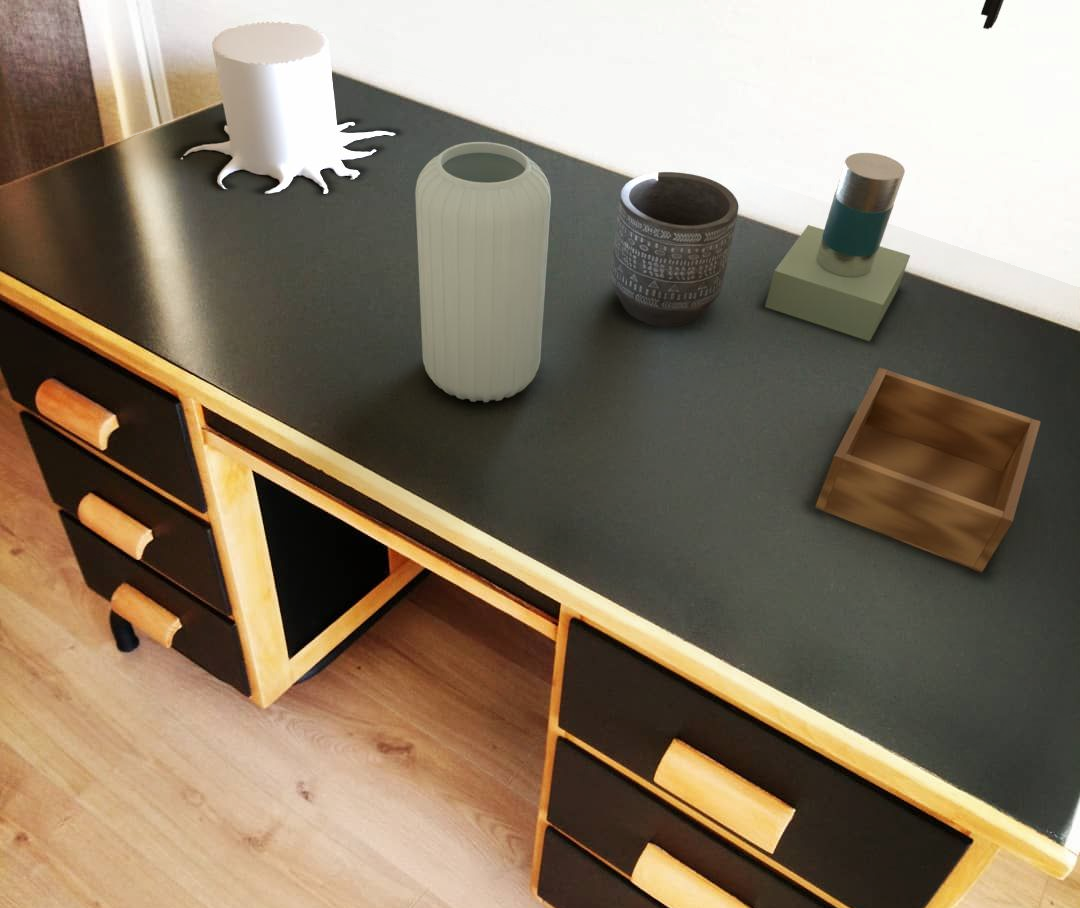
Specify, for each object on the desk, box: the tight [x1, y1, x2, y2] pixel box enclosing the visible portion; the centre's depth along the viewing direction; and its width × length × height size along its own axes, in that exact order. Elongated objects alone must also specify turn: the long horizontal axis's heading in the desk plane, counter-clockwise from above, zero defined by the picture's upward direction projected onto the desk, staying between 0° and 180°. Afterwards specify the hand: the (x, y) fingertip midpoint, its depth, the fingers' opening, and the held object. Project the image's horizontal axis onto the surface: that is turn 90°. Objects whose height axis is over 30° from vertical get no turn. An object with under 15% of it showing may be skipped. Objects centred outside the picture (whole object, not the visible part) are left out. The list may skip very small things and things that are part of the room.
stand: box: [764, 224, 911, 342], centre depth 105 cm, size 12×12×5 cm
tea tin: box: [817, 152, 906, 277], centre depth 99 cm, size 6×6×11 cm
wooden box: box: [814, 367, 1041, 573], centre depth 83 cm, size 15×15×7 cm
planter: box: [609, 171, 740, 328], centre depth 100 cm, size 12×12×13 cm
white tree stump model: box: [180, 21, 396, 195], centre depth 120 cm, size 25×25×14 cm
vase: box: [414, 141, 552, 403], centre depth 86 cm, size 12×12×22 cm
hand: (1041, 36), depth 88 cm, fingers open, 9 cm apart
